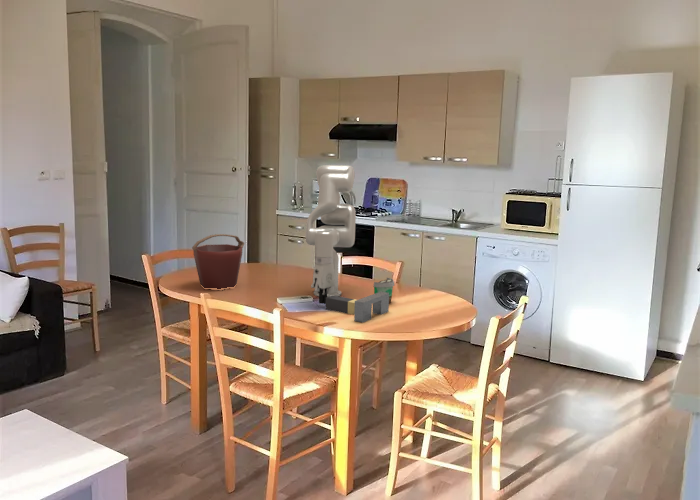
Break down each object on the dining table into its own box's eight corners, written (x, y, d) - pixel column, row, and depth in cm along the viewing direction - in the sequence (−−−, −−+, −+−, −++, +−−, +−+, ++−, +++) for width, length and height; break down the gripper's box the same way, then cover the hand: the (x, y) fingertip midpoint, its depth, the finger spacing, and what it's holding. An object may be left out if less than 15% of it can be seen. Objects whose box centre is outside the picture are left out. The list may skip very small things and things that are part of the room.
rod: (325, 309, 257) (325, 297, 256) (332, 306, 261) (332, 295, 260) (353, 314, 250) (354, 302, 249) (360, 312, 254) (360, 300, 253)
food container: (385, 307, 263) (386, 284, 261) (372, 304, 266) (373, 282, 264) (398, 301, 273) (399, 279, 271) (386, 299, 276) (387, 277, 275)
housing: (354, 320, 241) (354, 300, 239) (380, 310, 257) (380, 291, 256) (363, 322, 239) (363, 302, 237) (388, 311, 255) (389, 292, 254)
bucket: (243, 280, 307) (242, 231, 302) (248, 291, 286) (248, 237, 281) (192, 282, 300) (191, 231, 296) (193, 293, 279) (192, 238, 275)
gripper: (320, 264, 249) (319, 308, 252) (341, 259, 262) (340, 301, 265) (305, 261, 253) (305, 305, 256) (326, 257, 266) (326, 298, 269)
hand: (323, 303), depth 260 cm, fingers closed
